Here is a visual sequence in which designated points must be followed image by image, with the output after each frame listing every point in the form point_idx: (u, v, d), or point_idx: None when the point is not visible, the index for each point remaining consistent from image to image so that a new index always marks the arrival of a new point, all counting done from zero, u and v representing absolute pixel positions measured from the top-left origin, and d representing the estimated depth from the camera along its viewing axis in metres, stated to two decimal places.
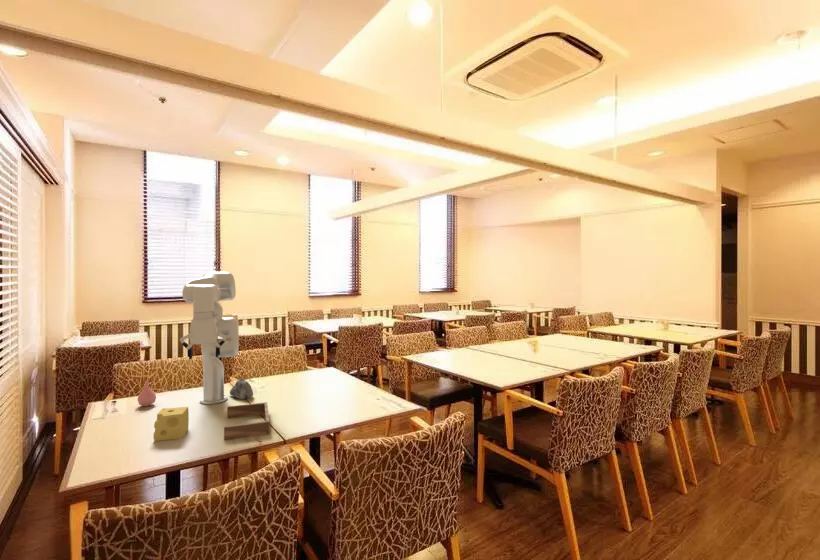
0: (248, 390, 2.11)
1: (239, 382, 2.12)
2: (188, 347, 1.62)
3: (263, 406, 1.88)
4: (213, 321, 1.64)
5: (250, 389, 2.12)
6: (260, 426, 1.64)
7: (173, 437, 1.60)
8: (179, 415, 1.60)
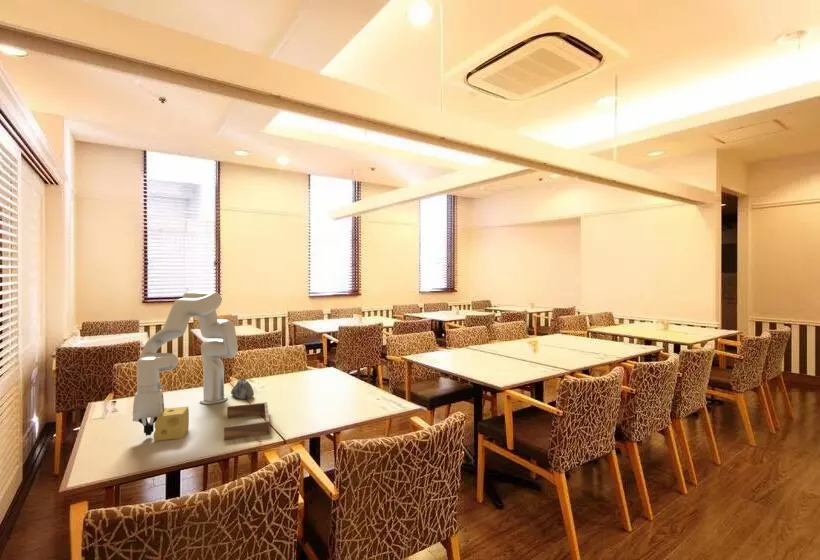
0: (249, 390, 2.11)
1: (240, 382, 2.12)
2: (144, 423, 1.59)
3: (263, 406, 1.88)
4: (158, 394, 1.60)
5: (251, 389, 2.12)
6: (260, 426, 1.64)
7: (173, 437, 1.60)
8: (179, 415, 1.60)
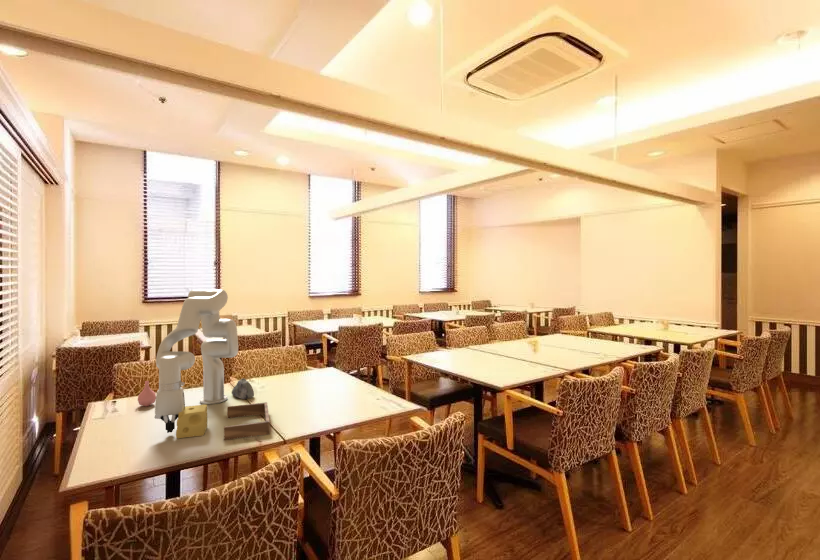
0: (249, 390, 2.11)
1: (240, 382, 2.12)
2: (166, 421, 1.62)
3: (263, 406, 1.88)
4: (179, 392, 1.63)
5: (251, 389, 2.12)
6: (260, 426, 1.64)
7: (195, 434, 1.62)
8: (201, 412, 1.63)
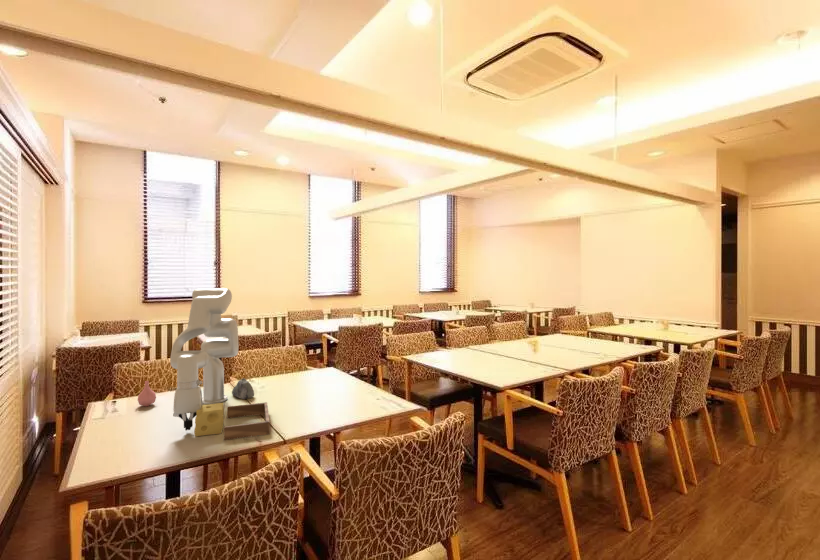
0: (249, 390, 2.11)
1: (240, 382, 2.12)
2: (184, 419, 1.64)
3: (263, 406, 1.88)
4: (197, 390, 1.65)
5: (251, 389, 2.12)
6: (260, 426, 1.64)
7: (213, 432, 1.65)
8: (219, 410, 1.65)
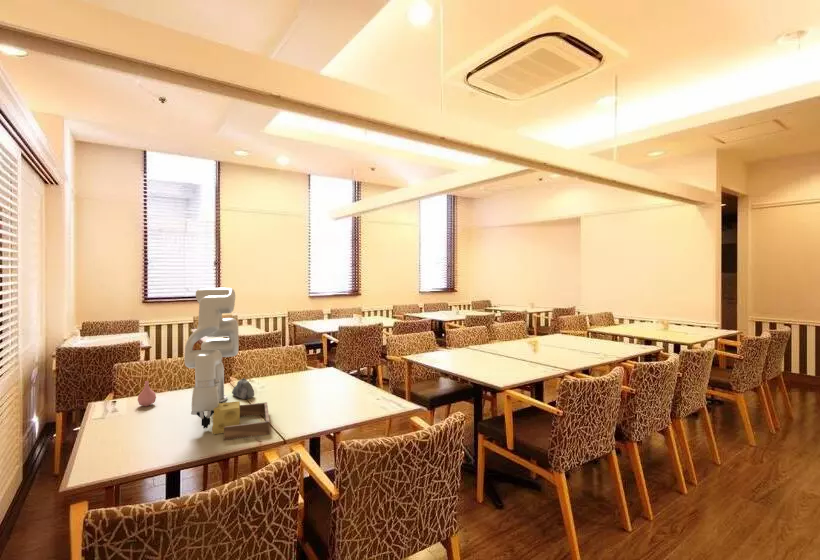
0: (249, 390, 2.11)
1: (240, 382, 2.12)
2: (202, 416, 1.67)
3: (263, 406, 1.88)
4: (214, 388, 1.68)
5: (251, 389, 2.12)
6: (260, 426, 1.64)
7: None
8: (236, 409, 1.67)
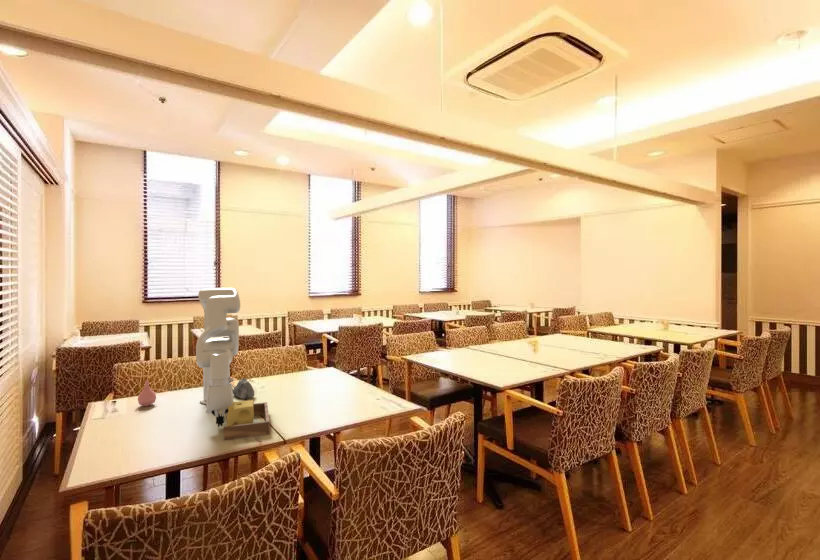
0: (249, 390, 2.11)
1: (241, 382, 2.12)
2: (217, 415, 1.69)
3: (263, 406, 1.88)
4: (229, 387, 1.70)
5: (251, 389, 2.12)
6: (260, 426, 1.64)
7: None
8: (250, 407, 1.69)
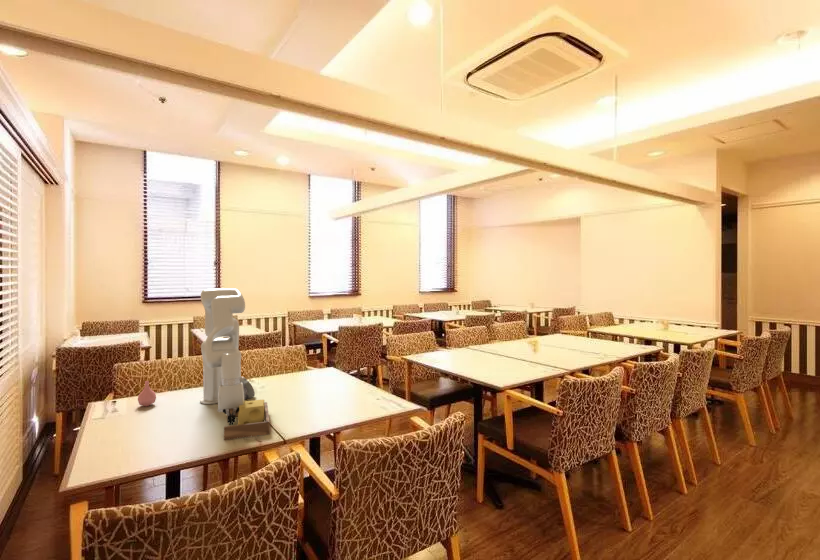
0: (249, 390, 2.11)
1: None
2: (228, 414, 1.70)
3: None
4: (240, 386, 1.71)
5: (251, 389, 2.12)
6: (260, 426, 1.64)
7: None
8: (260, 407, 1.70)
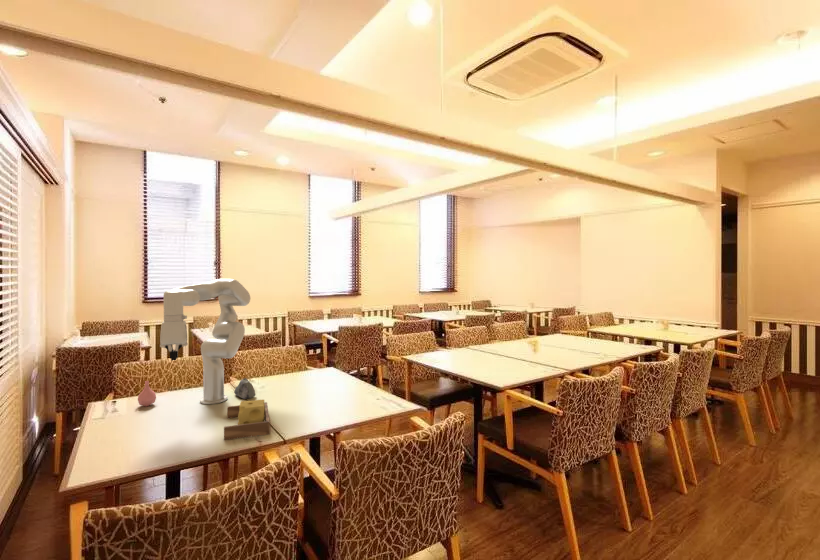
0: (250, 390, 2.11)
1: (242, 381, 2.13)
2: (170, 349, 1.78)
3: None
4: (182, 323, 1.79)
5: (252, 389, 2.12)
6: (260, 426, 1.64)
7: None
8: (260, 407, 1.70)
